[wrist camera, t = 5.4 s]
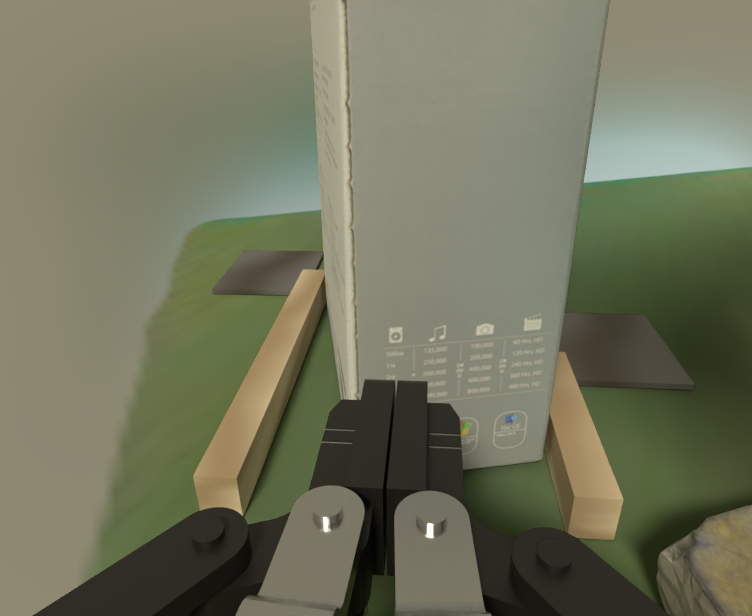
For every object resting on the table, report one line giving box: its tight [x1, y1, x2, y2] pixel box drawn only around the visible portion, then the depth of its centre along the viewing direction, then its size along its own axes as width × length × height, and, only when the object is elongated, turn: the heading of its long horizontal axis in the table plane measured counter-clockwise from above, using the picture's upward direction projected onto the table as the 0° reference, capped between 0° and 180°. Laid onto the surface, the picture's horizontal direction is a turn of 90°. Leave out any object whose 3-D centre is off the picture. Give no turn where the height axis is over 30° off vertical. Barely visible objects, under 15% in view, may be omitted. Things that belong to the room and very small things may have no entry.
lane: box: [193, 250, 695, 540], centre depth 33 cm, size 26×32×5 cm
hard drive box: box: [310, 0, 610, 470], centre depth 24 cm, size 16×8×20 cm, turn 9°
